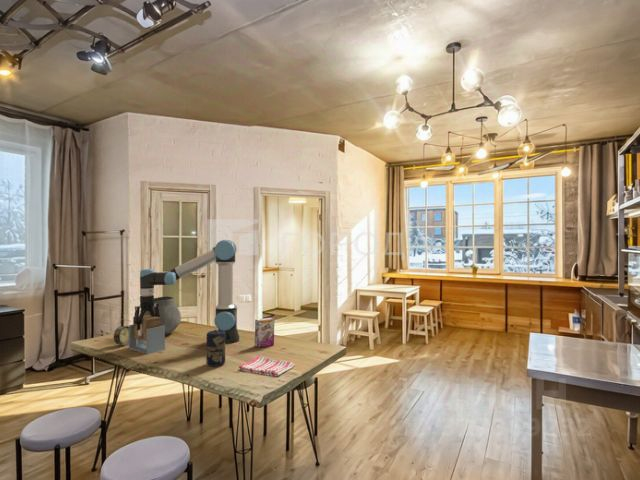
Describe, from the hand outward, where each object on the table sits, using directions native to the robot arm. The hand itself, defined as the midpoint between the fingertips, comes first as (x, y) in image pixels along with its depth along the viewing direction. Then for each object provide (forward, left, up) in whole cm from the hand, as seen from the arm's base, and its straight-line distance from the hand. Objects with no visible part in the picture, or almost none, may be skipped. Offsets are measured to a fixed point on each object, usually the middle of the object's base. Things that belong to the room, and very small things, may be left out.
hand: (146, 333), depth 218 cm
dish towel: (-81, -14, -10) cm, 83 cm away
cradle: (0, 0, -9) cm, 9 cm away
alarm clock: (+19, +4, -9) cm, 22 cm away
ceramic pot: (+24, -26, -9) cm, 37 cm away
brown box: (0, 0, -2) cm, 2 cm away
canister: (-55, -4, -9) cm, 56 cm away
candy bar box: (-53, -44, -9) cm, 69 cm away
